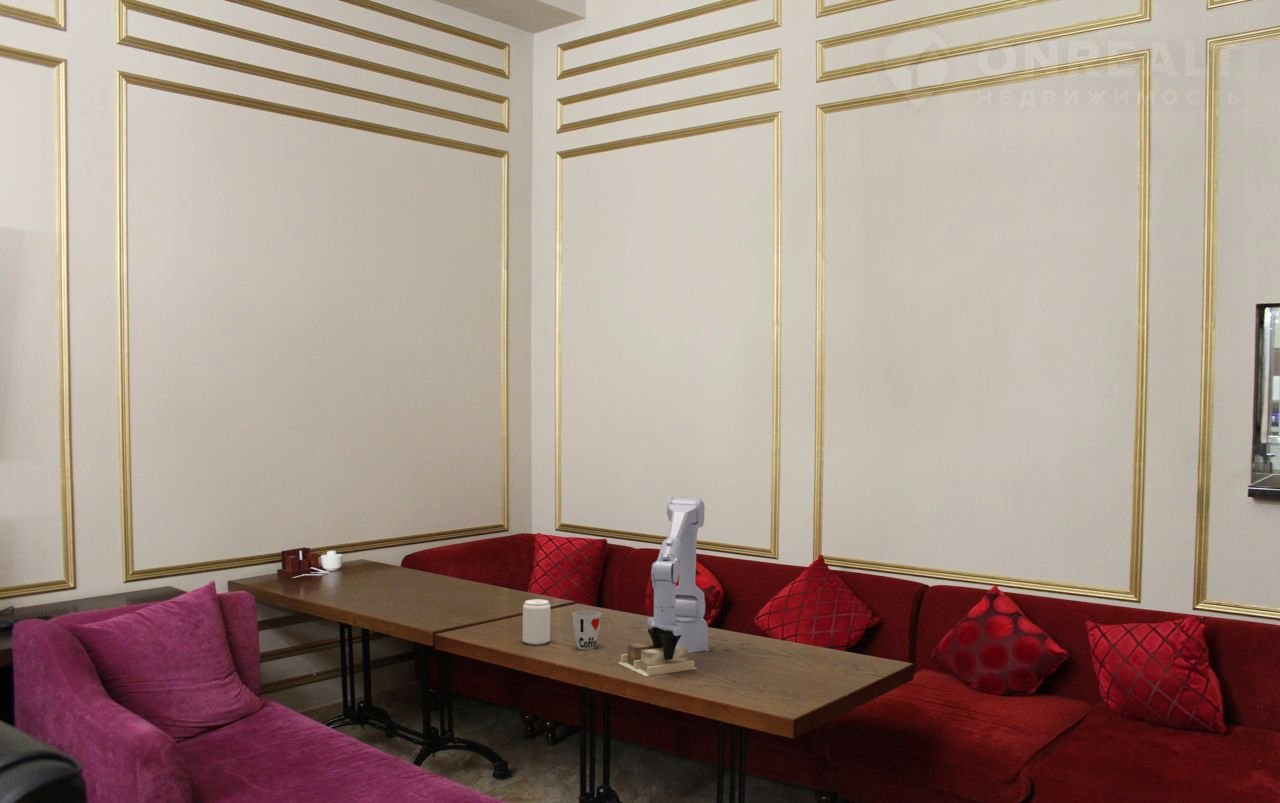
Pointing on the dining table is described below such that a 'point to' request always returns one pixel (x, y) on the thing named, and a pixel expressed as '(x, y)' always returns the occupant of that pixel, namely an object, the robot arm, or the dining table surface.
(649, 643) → the brown wooden block
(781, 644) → the dining table surface
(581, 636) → the cup
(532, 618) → the beverage can
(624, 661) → the slot board
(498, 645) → the dining table surface
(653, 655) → the beige wooden block
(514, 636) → the dining table surface
